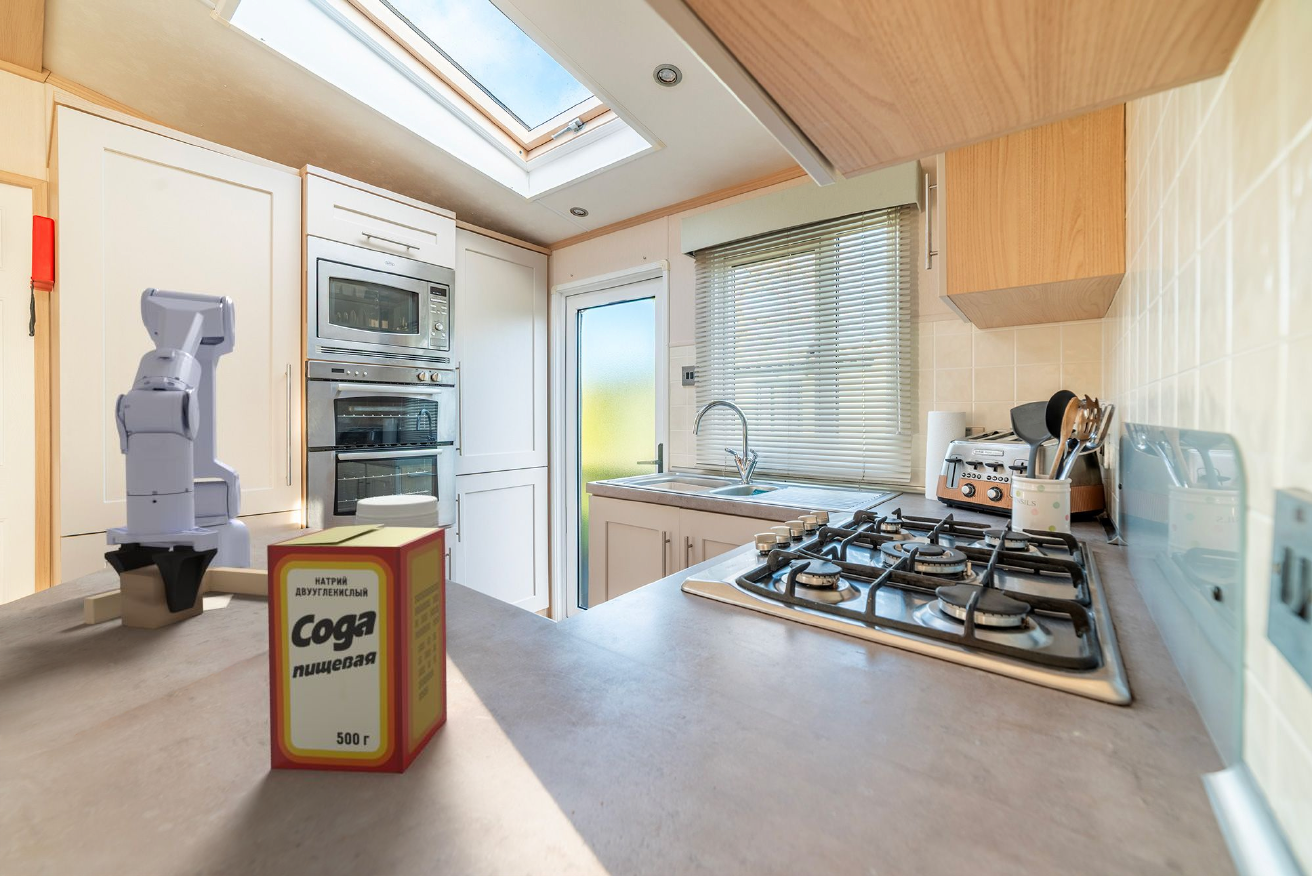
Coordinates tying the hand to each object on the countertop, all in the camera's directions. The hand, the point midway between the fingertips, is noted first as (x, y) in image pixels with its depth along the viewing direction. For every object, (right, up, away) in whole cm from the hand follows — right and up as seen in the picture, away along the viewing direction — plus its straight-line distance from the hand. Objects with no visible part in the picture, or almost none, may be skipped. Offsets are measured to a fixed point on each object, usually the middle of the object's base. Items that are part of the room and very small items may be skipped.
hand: (163, 608), depth 60 cm
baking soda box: (+36, -3, -22) cm, 42 cm away
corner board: (+3, -3, +3) cm, 5 cm away
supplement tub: (+25, -3, +6) cm, 26 cm away
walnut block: (0, -1, 0) cm, 1 cm away
